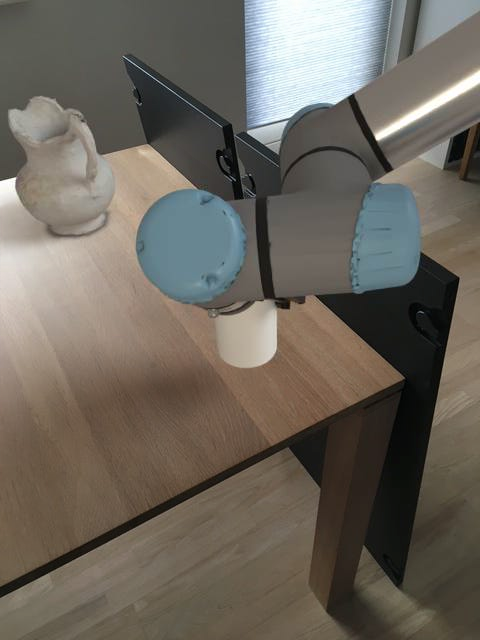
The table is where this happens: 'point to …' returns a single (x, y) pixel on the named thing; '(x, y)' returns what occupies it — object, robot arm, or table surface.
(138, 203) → the table surface
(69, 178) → the ceramic pitcher
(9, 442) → the table surface
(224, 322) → the cup
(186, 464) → the table surface
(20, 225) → the table surface
